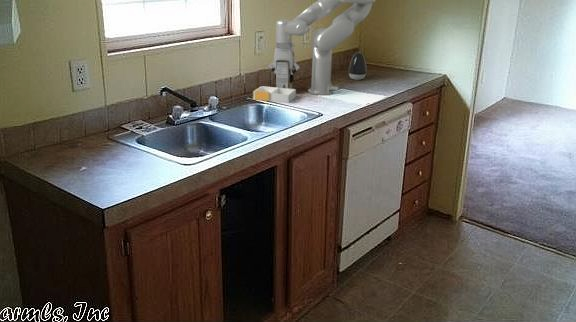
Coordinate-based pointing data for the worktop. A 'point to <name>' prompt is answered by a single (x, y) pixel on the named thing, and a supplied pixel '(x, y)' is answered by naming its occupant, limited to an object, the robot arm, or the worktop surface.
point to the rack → (274, 94)
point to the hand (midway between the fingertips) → (284, 81)
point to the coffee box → (283, 74)
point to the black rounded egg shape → (357, 67)
